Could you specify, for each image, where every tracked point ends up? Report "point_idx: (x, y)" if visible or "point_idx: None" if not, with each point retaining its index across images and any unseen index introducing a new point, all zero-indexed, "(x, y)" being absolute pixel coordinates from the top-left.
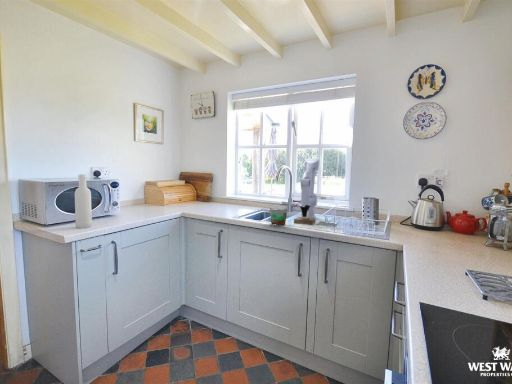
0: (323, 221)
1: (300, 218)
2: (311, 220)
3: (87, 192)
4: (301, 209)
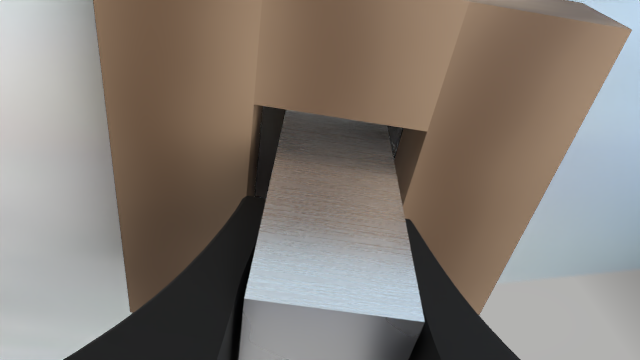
0: None
1: (309, 112)
2: None
3: None
4: (103, 343)
